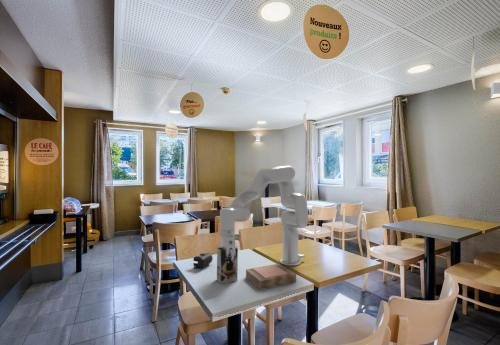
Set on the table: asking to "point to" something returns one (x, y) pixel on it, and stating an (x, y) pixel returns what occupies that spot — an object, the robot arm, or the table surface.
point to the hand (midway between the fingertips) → (227, 267)
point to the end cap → (202, 260)
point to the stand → (270, 276)
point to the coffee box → (222, 272)
